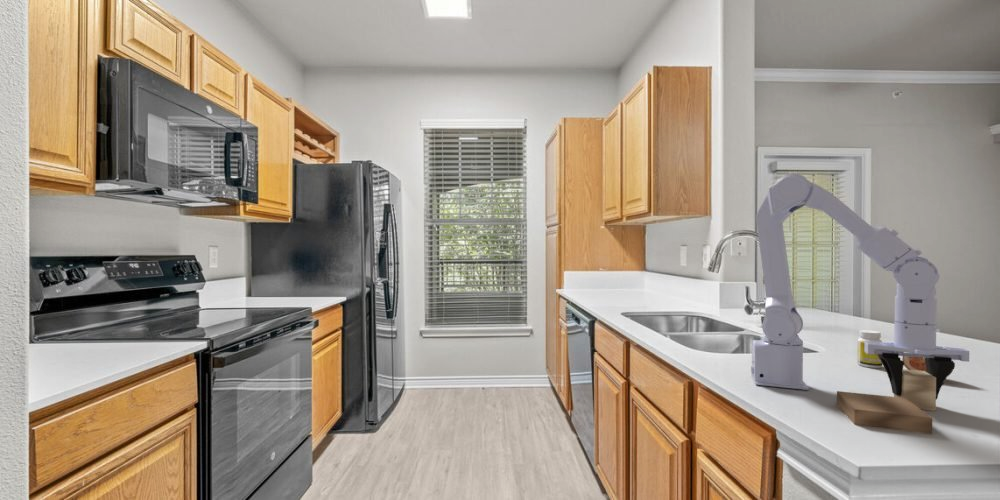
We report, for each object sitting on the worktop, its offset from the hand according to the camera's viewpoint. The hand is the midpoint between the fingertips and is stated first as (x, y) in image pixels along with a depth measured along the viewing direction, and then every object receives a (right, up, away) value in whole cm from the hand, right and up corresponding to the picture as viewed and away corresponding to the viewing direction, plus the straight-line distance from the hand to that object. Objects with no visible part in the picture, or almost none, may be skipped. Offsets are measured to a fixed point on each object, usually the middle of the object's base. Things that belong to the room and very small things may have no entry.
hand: (914, 395), depth 84 cm
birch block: (0, -2, 0) cm, 2 cm away
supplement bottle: (+14, -2, +27) cm, 30 cm away
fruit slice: (+18, -2, +16) cm, 24 cm away
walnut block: (-11, -2, -6) cm, 13 cm away
